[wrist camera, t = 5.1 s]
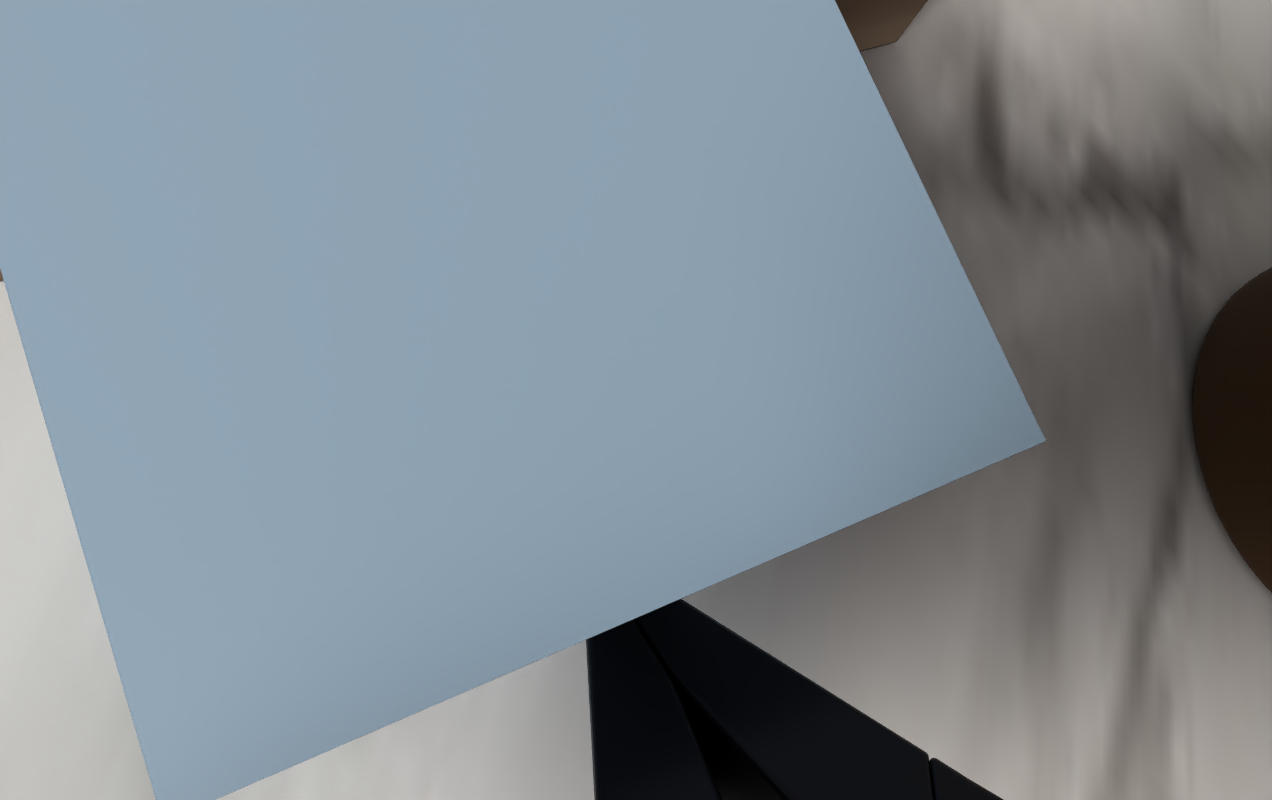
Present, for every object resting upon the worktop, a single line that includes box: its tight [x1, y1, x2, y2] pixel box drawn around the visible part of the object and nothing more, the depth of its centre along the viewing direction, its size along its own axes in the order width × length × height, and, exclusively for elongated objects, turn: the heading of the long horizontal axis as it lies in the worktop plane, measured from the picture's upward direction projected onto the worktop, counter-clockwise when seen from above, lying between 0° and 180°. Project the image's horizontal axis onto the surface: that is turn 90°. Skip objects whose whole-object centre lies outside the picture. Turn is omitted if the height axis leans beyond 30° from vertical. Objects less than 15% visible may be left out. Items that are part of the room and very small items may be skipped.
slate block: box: [0, 0, 1046, 800], centre depth 12 cm, size 9×8×9 cm
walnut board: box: [0, 0, 927, 281], centre depth 14 cm, size 3×24×6 cm, turn 113°
